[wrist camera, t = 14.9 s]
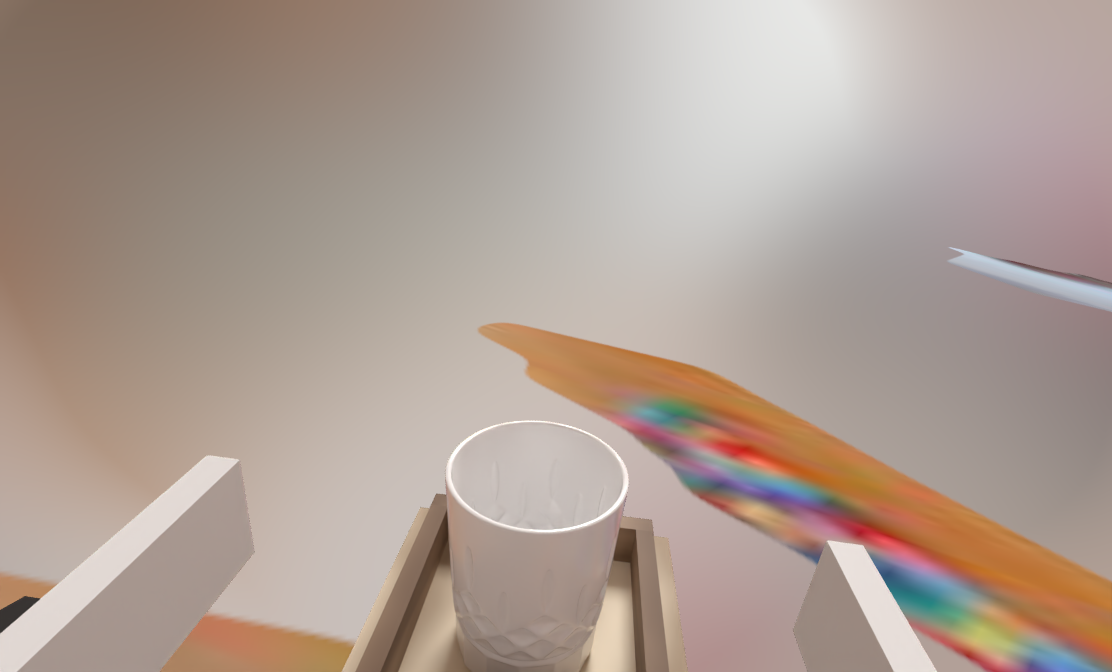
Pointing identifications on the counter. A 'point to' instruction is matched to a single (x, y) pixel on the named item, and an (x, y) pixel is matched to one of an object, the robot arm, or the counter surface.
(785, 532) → the counter surface
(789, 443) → the counter surface
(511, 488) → the white cup
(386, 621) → the cup holder
